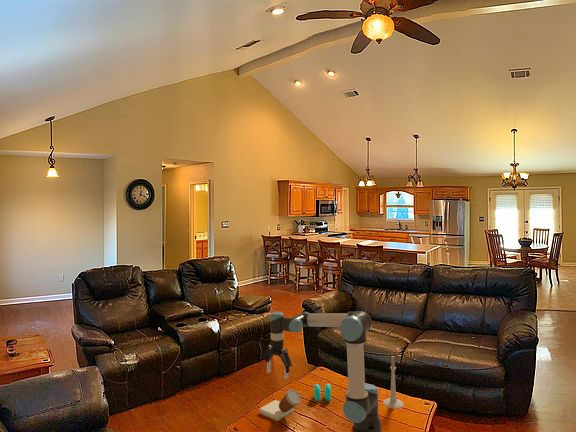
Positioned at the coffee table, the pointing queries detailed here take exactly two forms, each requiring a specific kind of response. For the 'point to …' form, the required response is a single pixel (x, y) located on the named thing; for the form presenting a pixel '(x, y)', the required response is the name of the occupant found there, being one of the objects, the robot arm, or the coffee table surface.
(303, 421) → the coffee table surface
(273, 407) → the plinth
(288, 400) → the disposable coffee cup
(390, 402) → the candlestick
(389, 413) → the coffee table surface
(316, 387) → the teal wheels on axle
